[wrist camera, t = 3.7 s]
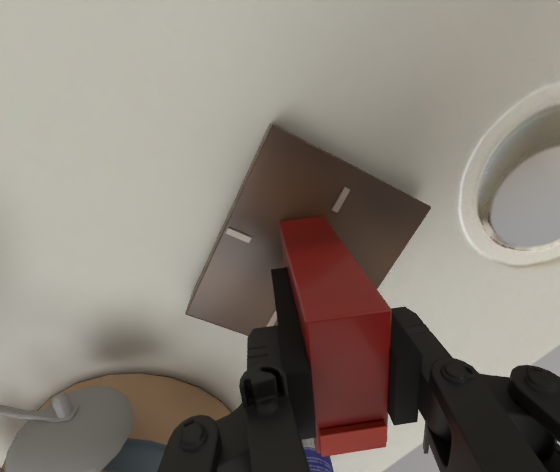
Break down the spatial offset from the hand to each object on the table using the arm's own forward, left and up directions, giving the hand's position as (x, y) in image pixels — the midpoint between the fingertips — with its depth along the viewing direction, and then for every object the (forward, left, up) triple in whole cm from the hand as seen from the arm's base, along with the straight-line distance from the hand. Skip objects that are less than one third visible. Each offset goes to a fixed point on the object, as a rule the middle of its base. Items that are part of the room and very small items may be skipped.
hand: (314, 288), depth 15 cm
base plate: (0, 0, -5) cm, 5 cm away
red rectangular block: (0, 0, -3) cm, 3 cm away
